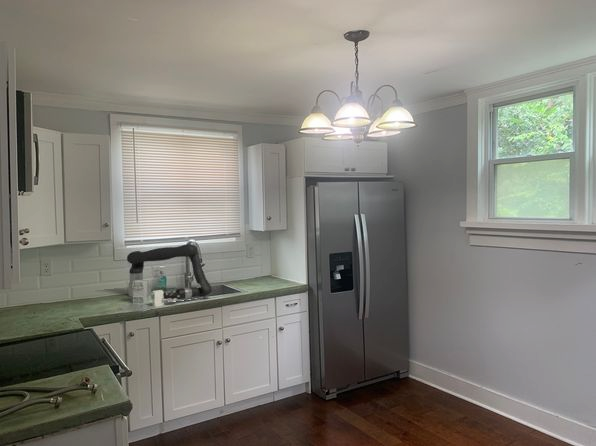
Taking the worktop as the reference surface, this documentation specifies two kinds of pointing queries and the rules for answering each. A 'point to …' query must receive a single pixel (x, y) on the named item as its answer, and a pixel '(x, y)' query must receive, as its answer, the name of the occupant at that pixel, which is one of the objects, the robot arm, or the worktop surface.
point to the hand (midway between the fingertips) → (161, 296)
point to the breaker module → (157, 298)
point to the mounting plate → (137, 307)
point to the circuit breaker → (141, 291)
